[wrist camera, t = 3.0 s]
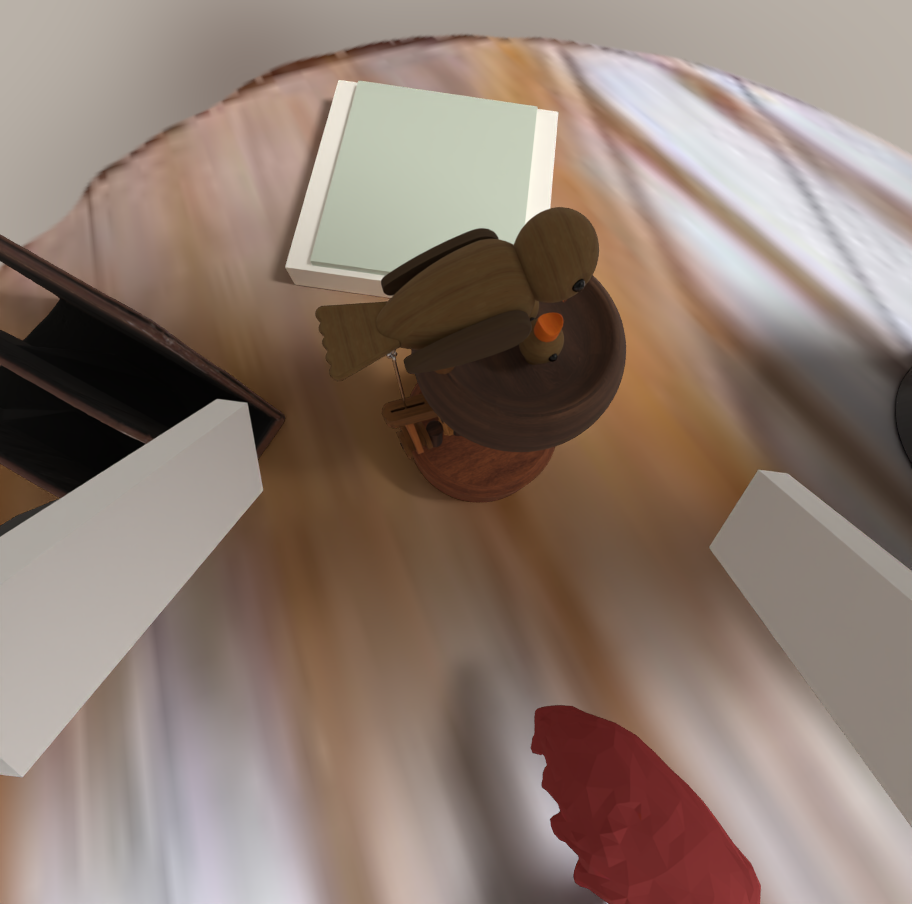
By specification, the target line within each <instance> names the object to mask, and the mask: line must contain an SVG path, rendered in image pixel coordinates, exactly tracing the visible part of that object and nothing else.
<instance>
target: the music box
mask: <svg viewBox="0 0 912 904" xmlns="http://www.w3.org/2000/svg"><path fill="white" fill-rule="evenodd" d="M598 256H599V243H598V238H597V234H596V232H595V229H594V227H593V226H592V224H591V223H590V221H589V220H588V219H587V218H586V217H585V216H584V215H582V214H581V213H579V212H577V211H575V210H573V209H570V208H563V207H557V208H551V209H547V210H544V211H542V212H540V213H538V214H537V215H535V216H534V217H532V218H531V219H530V220H529V221H528V222H527V223H526V224H525V225H524V226H523V228H522V229H521V230H520V232H519V234H518V236H517V238H516V240H515V243H514V245H513V244H511V243H509V242H507V241H504V240H500V239H499V238H498V236H497V234H496V233H495V232H493V231H492V230H490V229H486V228H478V229H473V230H471V231H468V232H466V233H463V234H461V235H459V236H456V237H454V238H452V239H449V240H447V241H445V242H443V243H441V244H439V245H437V246H435V247H433V248H431V249H429V250H427V251H425V252H423V253H421V254H420V255H418V256H416V257H414V258H412V259H411V260H409V261H407V262H406V263H404V264H402V265H401V266H399V267H398V268H396V269H394V270H393V271H391V272H390V273H388V274H387V275H385V276H384V277H383V278H382V280H381V286H382V289H383V292H384V293H385V294H386V295H389V296H392V295H394V296H393V297H392V298H391V299H390V300H389V301H388V302H375V303H360V304H345V305H331V306H321V307H319V308H318V309H317V310H316V313H315V315H316V318H317V319H318V320H319V322H320V325H319V331H320V333H321V334H322V335H323V336H324V338H323V340H322V344H323V346H324V348H325V349H326V350H327V354H326V360H327V362H328V363H329V364H330V365H331V368H330V370H329V373H330V376H331V377H332V378H333V379H334V380H336V381H342V380H344V379H346V378H348V377H349V376H351V375H353V374H354V373H356V372H358V371H360V370H361V369H363V368H365V367H366V366H368V365H370V364H372V363H373V362H375V361H377V360H378V359H380V358H382V357H384V356H385V355H386V356H387V358H390V359H392V362H393V366H394V370H395V373H396V377H397V381H398V385H399V389H400V393H401V396H402V399H399V400H395V401H392V402H388V403H386V404H385V405H384V406H383V408H382V415H383V417H384V420H385V422H386V424H387V425H388V426H389V427H391V428H398V427H400V430H401V431H399V432H397V435H398V438H399V440H400V442H401V443H400V444H401V446H402V448H403V449H404V450H405V452H406V455H407V457H408V458H409V459H410V458H412V457H413V459H414V461H415V463H416V465H417V467H418V468H419V470H420V472H421V473H422V474H423V476H424V477H425V478H426V479H427V480H428V481H429V482H430V483H431V484H432V485H433V486H434V487H436V488H437V489H438V490H440V491H441V492H443V493H445V494H447V495H449V496H451V497H454V498H456V499H460V500H463V501H469V502H490V501H495V500H499V499H502V498H505V497H507V496H509V495H511V494H513V493H515V492H517V491H518V490H520V489H521V488H522V487H524V486H525V485H527V484H528V483H530V482H531V481H532V480H533V479H535V478H536V477H537V476H538V475H539V474H540V473H541V472H542V470H543V469H544V468H545V466H546V465H547V463H548V462H549V460H550V458H551V456H552V454H553V452H554V449H555V446H557V445H560V444H563V443H565V442H567V441H569V440H571V439H573V438H575V437H576V436H578V435H579V434H581V433H582V432H584V431H585V430H586V429H588V428H589V427H590V426H591V425H592V424H594V423H595V422H596V421H597V420H598V419H599V417H600V416H601V415H602V414H603V413H604V412H605V410H606V409H607V408H608V406H609V404H610V403H611V401H612V400H613V398H614V396H615V394H616V392H617V390H618V388H619V385H620V382H621V379H622V376H623V372H624V367H625V360H626V340H625V333H624V328H623V324H622V320H621V318H620V315H619V312H618V310H617V308H616V306H615V304H614V302H613V300H612V298H611V297H610V295H609V294H608V292H607V291H606V290H605V288H604V287H603V286H602V285H601V283H600V282H599V281H598V280H597V279H596V278H595V277H594V276H593V273H594V271H595V268H596V265H597V261H598ZM399 347H401V348H407V349H412V354H411V355H409V356H408V357H406V358H405V359H404V364H405V368H406V371H407V372H408V373H410V374H415V376H416V379H417V384H416V386H415V387H414V389H413V391H412V393H411V395H410V397H407V398H405V397H404V393H403V388H402V384H401V380H400V376H399V372H398V368H397V364H396V356H397V352H395V350H396V349H397V348H399Z"/></svg>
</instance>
